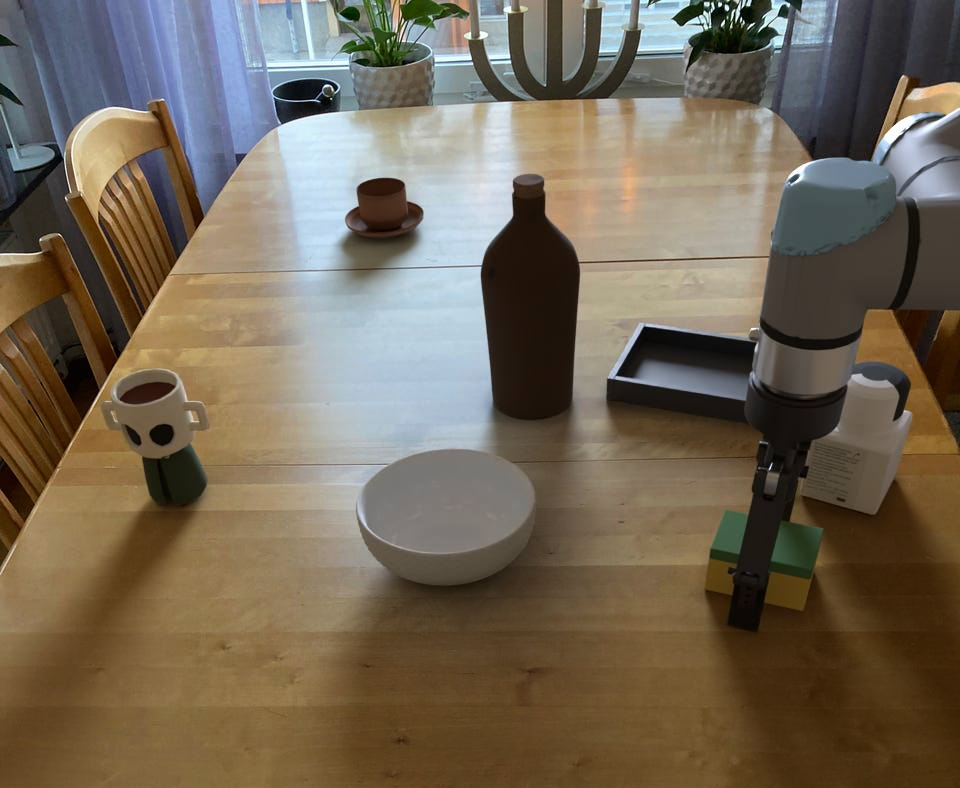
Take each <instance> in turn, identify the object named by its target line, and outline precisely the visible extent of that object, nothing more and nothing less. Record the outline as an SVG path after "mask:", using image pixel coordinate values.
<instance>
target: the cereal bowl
mask: <svg viewBox="0 0 960 788" xmlns="http://www.w3.org/2000/svg"><path fill="white" fill-rule="evenodd" d="M536 501H537V496H536V491H535V488H534V485H533V484H532V481H531V479H530V478H529V476H528V475H527V474H526V473H525V472H524V471H523V469H522V468H520V467H519V466H518V465H516V464H515V463H513V462H512V461H510V460H508V459H506V458H504V457H501V456H499V455H497V454H493V453H490V452H486V451H483V450H476V449H471V448H470V449H469V448H438V449H431V450H425V451H424V450H423V451H420V452H415V453H413V454H409V455H407V456H403V457H401V458H399V459H397V460H394V461H391V462H390V463H389V464H387V465H385V466H383V467H382V468H380V469H379V470H378V471H376V472H375V473H374V474H373V475H372V476H371V477H369V478H368V479H367V480H366V481H365V483H364V484H363V486H362V487H361V489H360V491H359V492H358V495H357V498H356V501H355V514H356V520H357V525H358V528H359V532H360V534H361V538H362V540H363V542H364V545H365V546H366V547H367V550H368V551H369V552H370V553H371V555H372V557H374V558H375V560H376V561H377V562H378V563H379V564H381V565H382V566H383V567H384V568H386V569H387V570H388V571H390V572H392V573H393V574H394V575H397V576H398V577H400V578H404V579H406V580H407V581H412V582H414V583H419V584H422V585H424V584H425V585H429V586H446V587H447V586H457V585H464V584H469V583H473V582H476V581H480V580H482V579H485V578H487V577H490V576H492V575H494V574H496V573H498V572H500V571H501V570H503V569H504V568H505V567H508V565H509V564H511V563H512V562H514V561H515V559H516V558H518V556H519V554H520V553H522V551H523V550H524V548H525V546H527V545H528V541H529V540H530V539H531V535H532V533H533V528H534V526H535V520H536V507H537V503H536Z"/></svg>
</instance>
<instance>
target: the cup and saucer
mask: <svg viewBox="0 0 960 788" xmlns="http://www.w3.org/2000/svg"><path fill="white" fill-rule="evenodd" d="M355 191H356V198H357V203H358V204H357V206H355V207H353V208H352V209H351V210H350V211H348V212H347V214H346V215H345V216H344V223H345V225H346V227H347V229H349V230H350V231H351V232H353V233H354V234H356V235H359V236H362V237H366V238H372V239H385V238H386V239H387V238H394V237H398V236H401V235H404V234H407V233H409V232H410V231H413V230H414V229H416V228H417V227H419V225H420V224H421V223H422V221H423V219H424V213H425V212H424V209H423V208H422V206H420V204H417V203H415V202H412V201H408V199H407V189H406V183H405V182H404V181H403V180H401V179H399V178H394V177H375V178H371V179H367V180H365V181H362V182H361V183H359V184H358V185H357V186H356V190H355Z"/></svg>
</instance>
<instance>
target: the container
mask: <svg viewBox="0 0 960 788" xmlns="http://www.w3.org/2000/svg"><path fill="white" fill-rule="evenodd" d="M847 385H848V388H847V393H846V397H845V401H844V405H843V409H842V414H841V418H840V421H839V424H838V425H837V427H836V428H835V429H834V430H833V431H832V432H831V433H830V434H828V435H826V436H824V437H822V438H820V439H816V440H812V443H811V447H810V450H809V451H808V456H807V460H806V464H805V465H806V466H809V470H808V474H807V478H806V479H805V478H802V480H801V484H800V489H799V494H800V495H801V496H803V497H805V498H809V499H813V500H817V501H821V502H825V503H828V504H831V505H834V506H839V507H843V508H846V509H849V510H852V511H856V512H860V513H863V514H867V515H871V516H874V515H876V514H877V513H878V511H879V509H880V508H881V505H882V503H883V501H884V499H885V497H886V495H887V493H888V491H889V490H890V487H891V485H892V483H893V481H894V480H895V477H896V475H897V472H898V469H899V467H900V466H899V465H900V462H901V459H902V456H903V451H904V449H905V445H906V442H907V439H908V435H909V431H910V428H911V425H912V421H913V419H914V413H913V412H911V411H908V410H905V408H906V405H907V401H908V398H909V394H910V391H911V387H912V382H911V380H910V377H909V376H908V375H907V373H906V372H905V371H903V370H902V369H901V368H899V367H898V366H895V365H893V364H889V363H886V362H881V361H875V360H873V361H872V360H871V361H869V360H863V361H858V362H855V364H854V368H853V372H852V376H851V379H850V380H849V381H848V383H847Z"/></svg>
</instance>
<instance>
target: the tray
mask: <svg viewBox="0 0 960 788" xmlns="http://www.w3.org/2000/svg"><path fill="white" fill-rule="evenodd" d="M757 343H758V342H756V341H751V340H750V339H749V337H744V336H737V335H731V334H723V333H717V332H710V331H704V330H703V331H702V330H696V329H688V328H682V327H677V326H676V327H675V326H669V325H661V324H655V323H648V322H647V323H646V322H642V321H641V322H639V324H638V325H637V327H636V328H635V330H634V331H633V333H632V335H631V337H630V339H629V340H628V342H627V344H626V345H625V347H624V349H623V350H622V352H621V354H620V355H619V357H618V359H617V360H616V362H615V364H614V366H613V368H612V369H611V371H610V373H608V376H607V377H606V395H605V400H607V401H614V402H620V403H626V404H631V405H637V406H644V407H648V408H655V409H661V410H666V411H667V410H668V411H673V412H679V413H685V414H690V415H695V416H696V415H697V416H701V417H708V418H714V419H720V420H726V421H731V422H737V423H744V424H749V422H748V421H747V419H746V416H745V412H744V408H745V401H746V395H747V389H748V383H749V377H750V374H751V372H752V371H753V369H752V364H753V357H754V351H755V347H756V344H757Z"/></svg>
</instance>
